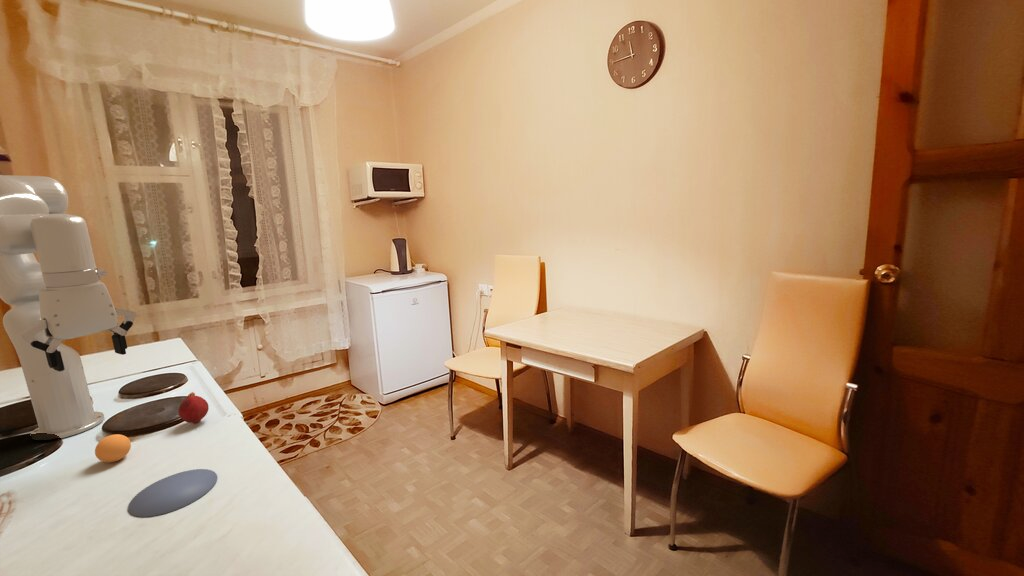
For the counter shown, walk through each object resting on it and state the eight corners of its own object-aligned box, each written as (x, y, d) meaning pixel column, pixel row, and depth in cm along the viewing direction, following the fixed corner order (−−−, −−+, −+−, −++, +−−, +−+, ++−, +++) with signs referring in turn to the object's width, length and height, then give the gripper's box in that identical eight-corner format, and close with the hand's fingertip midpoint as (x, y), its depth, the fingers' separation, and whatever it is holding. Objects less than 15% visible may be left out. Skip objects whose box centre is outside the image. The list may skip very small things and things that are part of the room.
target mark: (113, 504, 76) (113, 503, 76) (193, 463, 87) (193, 462, 87) (151, 526, 70) (151, 525, 70) (232, 479, 82) (231, 478, 81)
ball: (93, 464, 89) (87, 440, 88) (126, 450, 94) (120, 427, 92) (105, 470, 86) (99, 445, 85) (138, 455, 91) (133, 432, 90)
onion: (195, 430, 101) (189, 399, 99) (175, 428, 102) (168, 397, 101) (216, 418, 107) (210, 388, 105) (197, 416, 108) (191, 387, 106)
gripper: (117, 271, 93) (133, 345, 96) (-2, 286, 78) (23, 374, 81) (135, 273, 90) (151, 350, 93) (15, 289, 74) (39, 380, 78)
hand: (91, 361), depth 87 cm, fingers open, 9 cm apart
